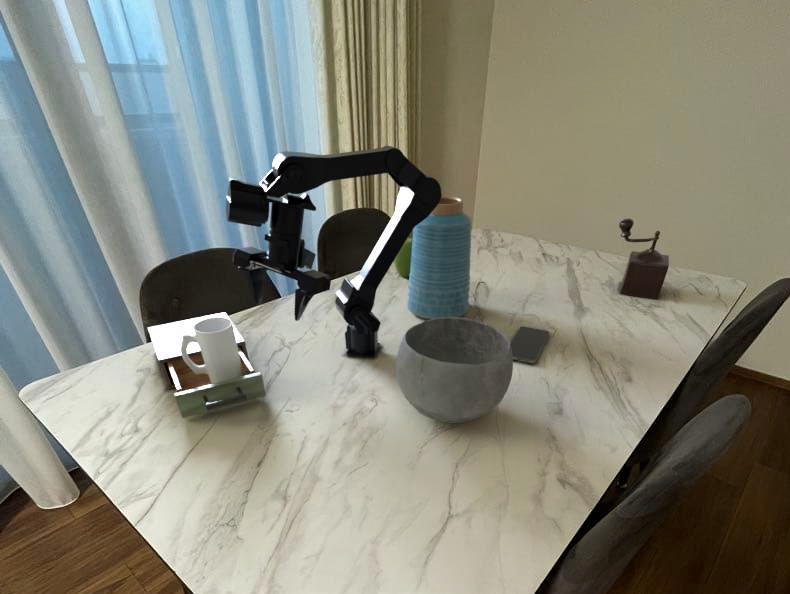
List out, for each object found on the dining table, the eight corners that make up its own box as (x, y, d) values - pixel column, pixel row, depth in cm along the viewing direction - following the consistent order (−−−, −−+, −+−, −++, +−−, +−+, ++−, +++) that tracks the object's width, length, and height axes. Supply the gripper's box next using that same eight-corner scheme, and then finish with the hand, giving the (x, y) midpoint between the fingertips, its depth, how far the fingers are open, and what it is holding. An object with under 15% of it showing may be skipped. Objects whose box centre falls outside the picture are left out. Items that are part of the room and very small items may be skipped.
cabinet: (251, 369, 101) (244, 341, 96) (168, 389, 94) (158, 360, 90) (231, 338, 112) (225, 312, 108) (156, 354, 105) (147, 327, 101)
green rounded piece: (419, 281, 142) (420, 241, 135) (391, 280, 142) (391, 241, 135) (418, 271, 149) (419, 232, 142) (392, 271, 149) (392, 232, 142)
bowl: (476, 458, 78) (486, 380, 69) (375, 419, 87) (372, 345, 77) (521, 400, 92) (534, 329, 82) (430, 371, 100) (433, 304, 91)
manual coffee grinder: (658, 286, 140) (681, 222, 129) (658, 300, 132) (682, 232, 121) (603, 279, 145) (621, 216, 133) (600, 291, 137) (618, 225, 125)
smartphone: (502, 354, 104) (520, 325, 116) (502, 358, 105) (519, 329, 116) (535, 361, 102) (550, 330, 113) (534, 365, 103) (549, 334, 114)
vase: (397, 316, 122) (397, 203, 105) (420, 294, 134) (423, 190, 117) (457, 327, 117) (467, 211, 101) (475, 303, 129) (486, 196, 112)
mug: (244, 370, 96) (231, 315, 89) (247, 387, 91) (233, 329, 84) (192, 379, 93) (174, 322, 86) (192, 396, 88) (173, 338, 81)
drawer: (272, 406, 88) (268, 384, 85) (187, 431, 82) (178, 408, 79) (244, 361, 101) (239, 341, 98) (168, 379, 95) (161, 358, 92)
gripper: (350, 243, 91) (337, 319, 100) (269, 214, 95) (263, 290, 103) (320, 248, 82) (309, 332, 90) (232, 216, 86) (229, 300, 94)
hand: (277, 312), depth 95 cm, fingers open, 9 cm apart
